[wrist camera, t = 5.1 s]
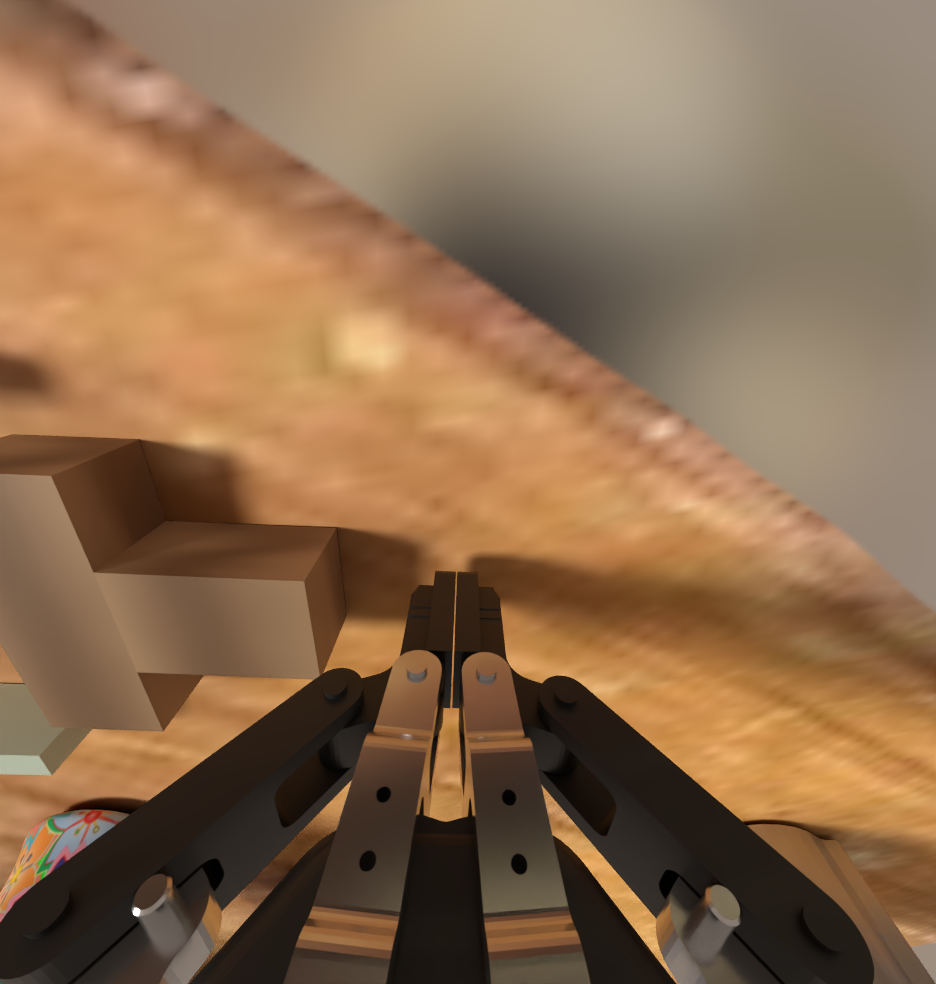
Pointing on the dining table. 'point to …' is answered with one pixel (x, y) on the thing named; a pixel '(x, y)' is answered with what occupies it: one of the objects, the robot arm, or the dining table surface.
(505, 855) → the robot arm
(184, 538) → the t block
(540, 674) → the dining table surface
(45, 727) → the bay
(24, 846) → the mug
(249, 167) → the dining table surface
